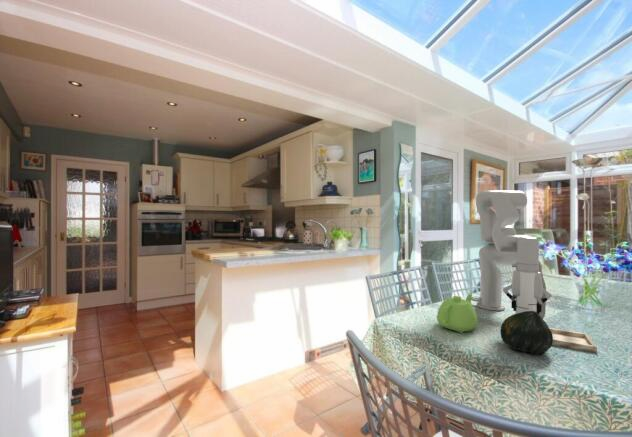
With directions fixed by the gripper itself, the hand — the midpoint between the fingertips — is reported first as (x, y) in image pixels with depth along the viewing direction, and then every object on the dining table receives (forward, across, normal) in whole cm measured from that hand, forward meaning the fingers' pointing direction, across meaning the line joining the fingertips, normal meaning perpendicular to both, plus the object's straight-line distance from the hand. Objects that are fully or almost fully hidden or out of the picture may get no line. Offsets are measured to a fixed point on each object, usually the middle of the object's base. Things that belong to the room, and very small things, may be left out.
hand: (526, 311), depth 124 cm
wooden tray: (+9, +13, -1) cm, 16 cm away
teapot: (+9, -24, -7) cm, 27 cm away
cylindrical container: (+9, 0, 0) cm, 9 cm away
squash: (+9, -1, -18) cm, 20 cm away
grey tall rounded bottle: (+9, +3, +18) cm, 20 cm away
